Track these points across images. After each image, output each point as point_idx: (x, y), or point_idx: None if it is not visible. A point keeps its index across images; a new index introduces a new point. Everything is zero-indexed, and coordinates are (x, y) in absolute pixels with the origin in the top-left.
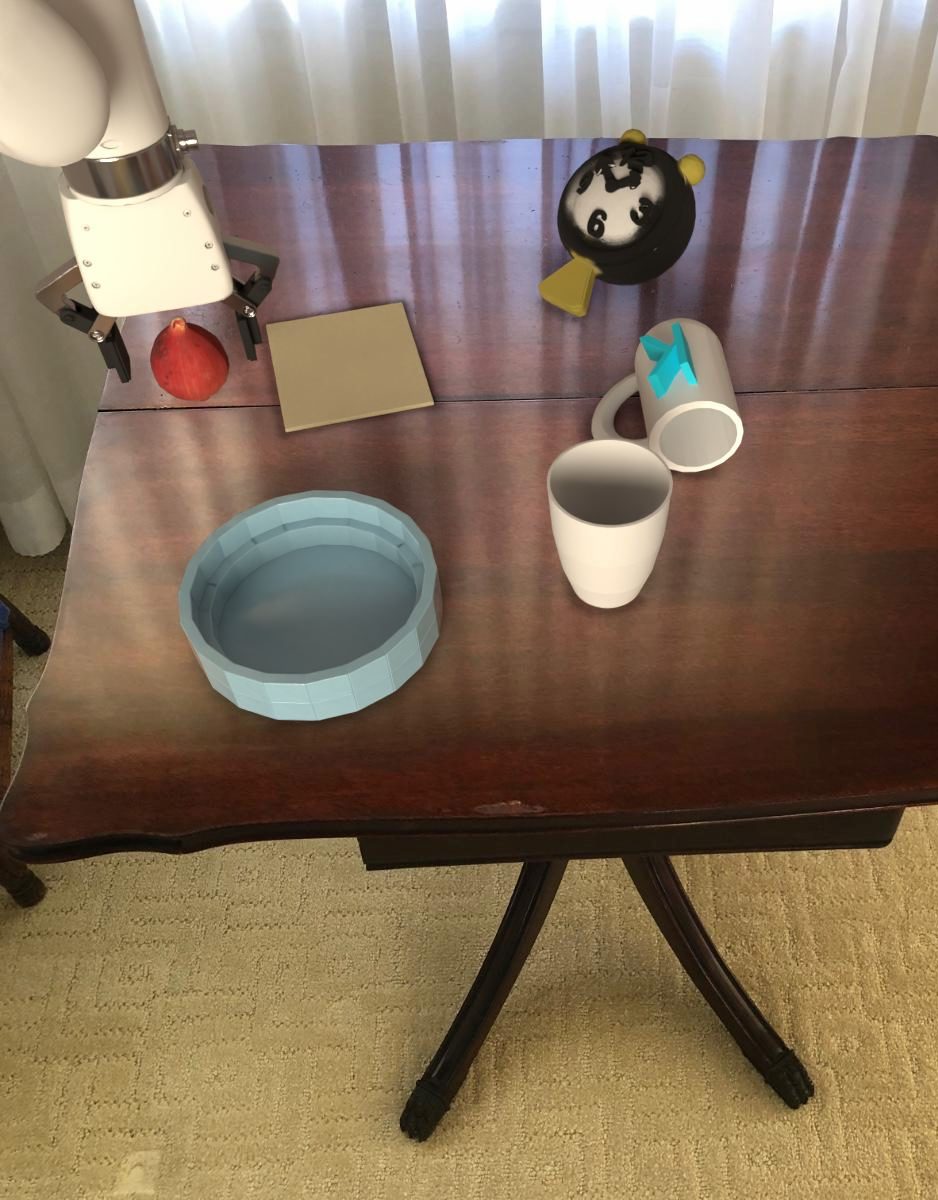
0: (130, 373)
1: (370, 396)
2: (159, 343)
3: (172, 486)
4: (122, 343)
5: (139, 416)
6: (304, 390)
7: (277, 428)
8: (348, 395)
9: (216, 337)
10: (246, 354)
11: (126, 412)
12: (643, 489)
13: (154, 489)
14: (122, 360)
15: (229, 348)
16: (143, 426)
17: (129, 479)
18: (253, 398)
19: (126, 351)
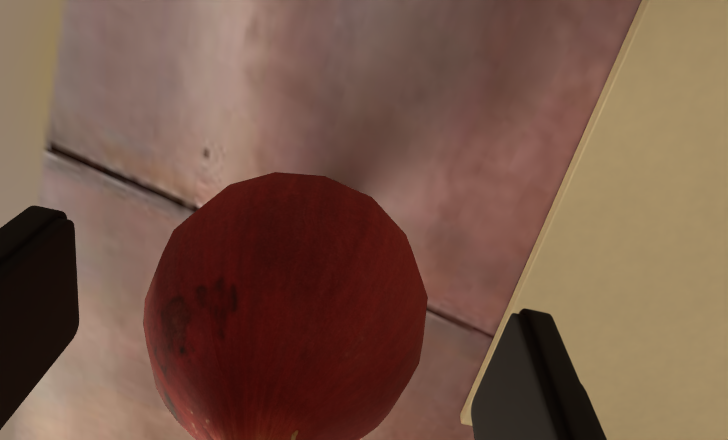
0: (74, 305)
1: (694, 424)
2: (170, 404)
3: (188, 434)
4: (13, 302)
5: (133, 209)
6: (572, 339)
7: (448, 394)
8: (653, 398)
9: (411, 355)
10: (474, 434)
11: (97, 177)
12: None
13: (152, 426)
14: (19, 404)
15: (475, 21)
16: (142, 250)
17: (102, 385)
18: (442, 284)
19: (47, 252)
